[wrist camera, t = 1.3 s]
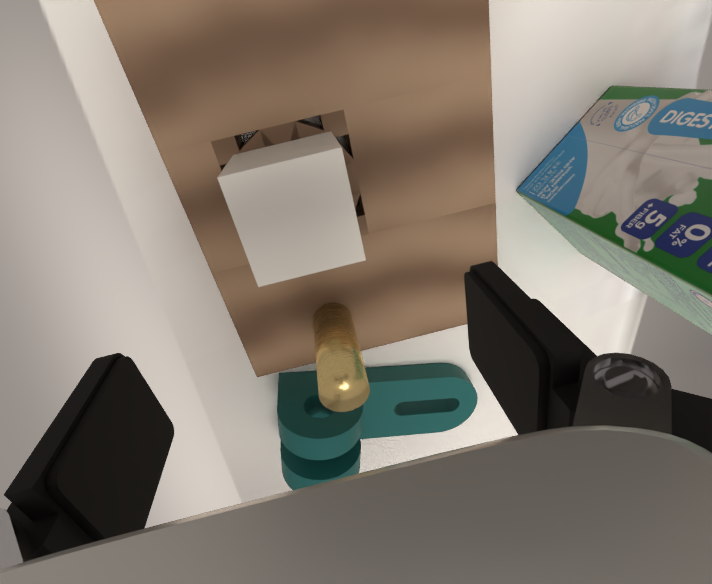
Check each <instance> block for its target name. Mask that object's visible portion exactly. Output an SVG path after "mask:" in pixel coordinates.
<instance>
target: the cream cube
mask: <svg viewBox="0 0 712 584" xmlns="http://www.w3.org/2000/svg"><path fill="white" fill-rule="evenodd" d="M217 179H218V181H219V184H220V187H221V189H222V192H223V195H224V197H225V200H226V202H227V205H228V208H229V210H230V213H231V216H232V218H233V221H234V224H235V226H236V229H237V232H238V234H239V237H240V240H241V242H242V245H243V248H244V250H245V253H246V256H247V258H248V261H249V264H250V266H251V269H252V272H253V274H254V277H255V280H256V282H257V285H258V287H261V286H265V285H269V284H273V283H277V282H281V281H285V280H289V279H293V278H297V277H301V276H305V275H309V274H313V273H317V272H321V271H325V270H329V269H333V268H337V267H341V266H345V265H349V264H353V263H357V262H361V261H365V260H366V258H365V253H364V249H363V244H362V239H361V235H360V230H359V225H358V221H357V216H356V211H355V207H354V202H353V197H352V193H351V188H350V183H349V179H348V174H347V169H346V165H345V160H344V155H343V151H342V147H341V145H340V144H339V142H338V141H337V139H336V138H335V136H334V135H333V133H332V132H331V131H330V132H325V133H321V134H317V135H313V136H309V137H305V138H301V139H297V140H292V141H288V142H284V143H280V144H276V145H272V146H268V147H264V148H259V149H255V150H251V151H247V152H243V153H239V154H235V155H233V156H232V157H231V159H230V160H229V162H228V163H227V164H226V166H225V167H224V169H223V170H222V171H221V173H220V174H219V176H218V177H217Z"/></svg>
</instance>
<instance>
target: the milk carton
mask: <svg viewBox="0 0 712 584" xmlns="http://www.w3.org/2000/svg"><path fill="white" fill-rule="evenodd" d="M517 192H518V193H519V194H520V195H521V196H522V197H523V198H524V199H525V200H526V201H527V202H528V203H529V204H530V205H531V206H532V207H533V208H535V209H536V210H537V211H538V212H539V213H540V214H541V215H542V216H543V217H544V218H545V219H546V220H547V221H548V222H549V223H550V224H551V225H552V226H553V227H554V228H555V229H556V230H557V231H558V232H560V233H561V234H562V235H563V236H564V237H565V238H566V239H567V240H568V241H569V242H570V243H571V244H572V245H573V246H574V247H575V248H576V249H577V250H578V251H579V252H580V253H581V254H583V255H584V256H586V257H587V258H589V259H591V260H592V261H594V262H595V263H597V264H599V265H600V266H602V267H603V268H605V269H607V270H608V271H610V272H611V273H613V274H615V275H616V276H618V277H619V278H621V279H623V280H624V281H626V282H627V283H629V284H631V285H632V286H634V287H635V288H637V289H639V290H640V291H642V292H643V293H645V294H647V295H648V296H650V297H651V298H653V299H655V300H656V301H658V302H659V303H661V304H663V305H664V306H666V307H667V308H669V309H671V310H672V311H674V312H675V313H677V314H678V315H680V316H682V317H683V318H685V319H686V320H688V321H690V322H691V323H693V324H694V325H696V326H698V327H699V328H701V329H703V330H704V331H706V332H707V333H709V334H711V335H712V90H702V89H680V88H656V87H632V86H611V88H610V89H609V90H608V91H607V92H606V93H605V94H604V95H603V96H602V97H601V98H600V100H599V101H598V102H597V103H596V104H595V105H594V106H593V107H592V108H591V109H590V110H589V112H588V113H587V114H586V115H585V116H584V117H583V118H582V119H581V120H580V121H579V122H578V124H577V125H576V126H575V127H574V128H573V129H572V130H571V131H570V132H569V133H568V134H567V136H566V137H565V138H564V139H563V140H562V141H561V142H560V143H559V144H558V145H557V146H556V148H555V149H554V150H553V151H552V152H551V153H550V154H549V155H548V156H547V157H546V158H545V160H544V161H543V162H542V163H541V164H540V165H539V166H538V167H537V168H536V169H535V171H534V172H533V173H532V174H531V175H530V176H529V177H528V178H527V179H526V180H525V181H524V183H523V184H522V185H521V186H520V187H519V188H518V189H517Z"/></svg>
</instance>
